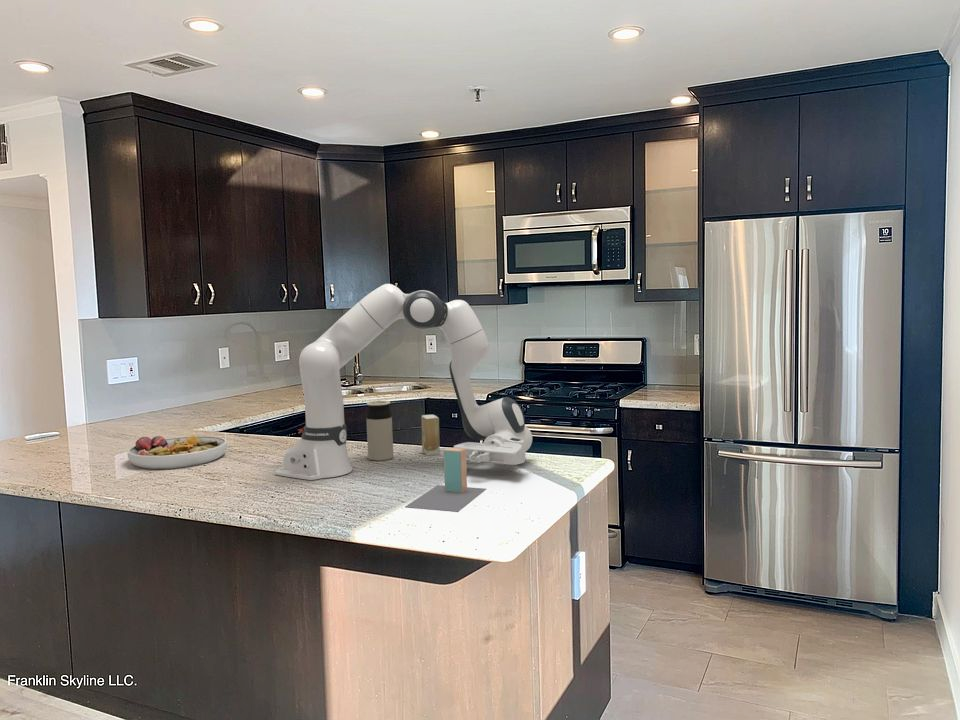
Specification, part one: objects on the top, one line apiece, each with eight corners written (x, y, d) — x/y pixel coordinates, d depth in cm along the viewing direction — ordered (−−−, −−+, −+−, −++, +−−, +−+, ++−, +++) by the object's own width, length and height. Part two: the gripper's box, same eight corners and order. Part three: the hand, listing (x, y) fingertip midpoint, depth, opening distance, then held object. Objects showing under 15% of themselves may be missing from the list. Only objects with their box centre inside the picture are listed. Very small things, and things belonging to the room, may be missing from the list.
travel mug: (391, 460, 222) (389, 403, 220) (366, 461, 222) (363, 404, 221) (395, 454, 230) (392, 400, 228) (370, 455, 230) (368, 400, 228)
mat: (404, 508, 172) (404, 506, 172) (437, 486, 191) (437, 485, 191) (458, 513, 168) (458, 511, 168) (486, 490, 186) (486, 488, 186)
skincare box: (421, 451, 233) (420, 415, 232) (434, 450, 235) (433, 414, 234) (427, 456, 227) (426, 418, 226) (440, 454, 229) (439, 417, 228)
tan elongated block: (444, 491, 185) (443, 450, 184) (449, 488, 187) (448, 447, 186) (462, 493, 183) (460, 451, 182) (467, 490, 185) (465, 448, 184)
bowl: (242, 449, 246) (241, 427, 245) (201, 471, 217) (199, 446, 216) (160, 450, 249) (158, 428, 248) (108, 472, 219) (106, 447, 219)
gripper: (467, 435, 209) (441, 444, 197) (529, 440, 199) (506, 451, 187) (467, 456, 210) (442, 466, 198) (529, 463, 200) (506, 474, 188)
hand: (473, 459), depth 193 cm, fingers closed
